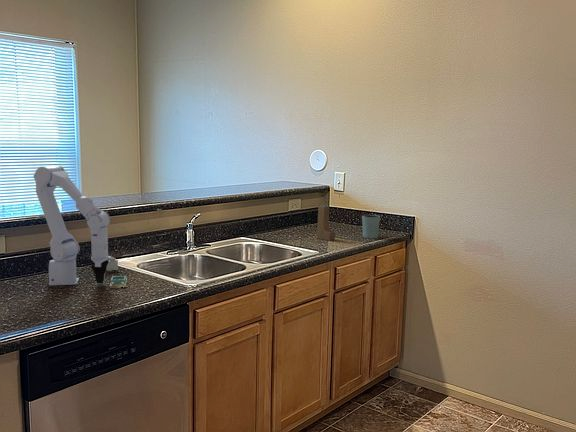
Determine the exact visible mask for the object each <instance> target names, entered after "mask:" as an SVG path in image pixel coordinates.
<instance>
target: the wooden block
mask: <svg viewBox="0 0 576 432" xmlns="http://www.w3.org/2000/svg"><path fill="white" fill-rule="evenodd" d="M317 209H318V211H317V232H316V234H317V235H316V238H317V239H318V240H319V239H320V240H324V241H327V242H328V241H329V242H332V241H334V240H335V238H336V237H335V236H336V232H335V231H334V230H331V229H332V228H330V206H329V205H324V204H322V205H318V206H317Z"/></svg>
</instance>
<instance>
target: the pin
mask: <svg viewBox="0 0 576 432" xmlns="http://www.w3.org/2000/svg"><path fill="white" fill-rule="evenodd" d="M95 282H96V281H95ZM103 286H106V273H105V274H104V281H103V283H97V282H96V288H104V287H103Z"/></svg>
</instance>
